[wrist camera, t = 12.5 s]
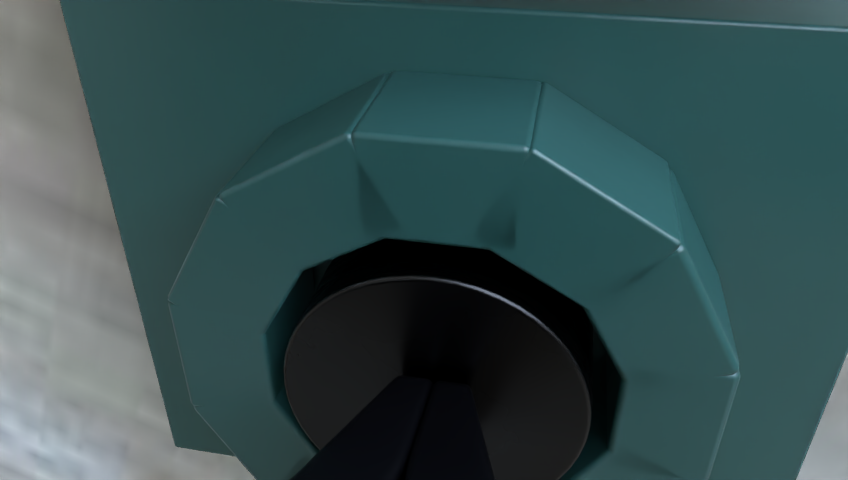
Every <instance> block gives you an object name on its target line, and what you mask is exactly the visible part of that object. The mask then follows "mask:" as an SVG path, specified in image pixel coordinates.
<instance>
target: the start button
mask: <svg viewBox="0 0 848 480" xmlns="http://www.w3.org/2000/svg"><path fill="white" fill-rule="evenodd" d="M402 375H404V376H411V377H418V378H425V379H429V380H431V381H432V383H433V385H434V384H435V383H436V382H437V381H447V382H454V383H461V384H466V385H468V386H469V387H470V388H471V390H472V393H473V397H474V401H475V405H476V409H477V413H478V416H479V420H480V424H481V428H482V432H483V436H484V439H485V443H486V447H487V451H488V455H489V459H490V462H491V466H492V470H493V474H494V478H495V480H558V479H560V478H561V477H562V476H563V475H564V474H565V473H566V472H567V471H568V470H569V469H570V468H571V467H572V465H573V464H574V462H575V461H576V460H577V458H578V457H579V455H580V454H581V452H582V450H583V448H584V446H585V444H586V442H587V439H588V435H589V432H590V428H591V421H592V394H593V325H592V324H591V322H590V320H589V318H588V316H587V314H586V313H585V311H584V309H583V307H582V306H580V305H579V304H577V303H575V302H574V301H572V300H570V299H569V298H567V297H566V296H564V295H562V294H561V293H559V292H557V291H556V290H554V289H552V288H551V287H549V286H548V285H546V284H544V283H543V282H541V281H539V280H538V279H536V278H534V277H533V276H531V275H530V274H528V273H526V272H525V271H523V270H521V269H520V268H518V267H516V266H515V265H513V264H511V263H510V262H508V261H507V260H505V259H503V258H502V257H500V256H498V255H497V254H495V253H493V252H492V251H490V250H486V249H477V248H467V247H458V246H449V245H440V244H431V243H422V242H412V241H403V240H394V239H385V238H384V239H382V240H379V241H377V242H374V243H372V244H369V245H367V246H364V247H362V248H359V249H357V250H354V251H352V252H349V253H347V254H344V255H342V256H339V257H337V258H334V259H332V261H331V262H330V264H329V266H328V268H327V270H326V272H325V274H324V275H323V277H322V279H321V281H320V283H319V285H318V286H317V288H316V290H315V292H314V294H313V296H312V298H311V299H310V301H309V303H308V305H307V307H306V309H305V310H304V312H303V314H302V316H301V318H300V320H299V322H298V323H297V325H296V327H295V329H294V331H293V333H292V335H291V337H290V339H289V342H288V345H287V348H286V352H285V359H284V384H285V388H286V393H287V398H288V401H289V403H290V406H291V408H292V411H293V413H294V415H295V417H296V419H297V421H298V422H299V424H300V426H301V428H302V429H303V430H304V432H305V433H306V435H307V436H308V437H309V439H310V440H311V441H312V442H313V443H314V444H315V445H316V447H317V448H318V449H319V450H321V449H322V448H323V447H324V446H325V445H326V444H327V443H328V442H329V441H330V440H331V439H332V438H333V437H335V436H336V435H337V434H338V433H339V432H340V431H341V430H342V429H343V428H344V427H345V426H346V425H347V424H348V423H349V422H350V421H351V420H352V419H353V418H354V417H355V416H356V415H357V414H358V413H359V412H360V411H361V410H362V409H363V408H365V407H366V406H367V405H368V404H369V403H370V402H371V401H372V400H373V399H374V398H375V397H376V396H377V395H378V394H379V393H380V392H381V391H382V390H383V389H384V388H385V387H386V386H387V385H388V384H389V383H390V382H391V381H392V380H393V379H395V378H396V377H398V376H402Z"/></svg>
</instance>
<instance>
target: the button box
mask: <svg viewBox="0 0 848 480" xmlns="http://www.w3.org/2000/svg"><path fill="white" fill-rule="evenodd" d="M60 4H61V8H62V12H63V16H64V19H65V23H66V27H67V31H68V35H69V39H70V43H71V46H72V50H73V54H74V58H75V62H76V66H77V70H78V73H79V77H80V81H81V85H82V89H83V93H84V97H85V100H86V104H87V108H88V112H89V116H90V120H91V123H92V127H93V131H94V135H95V139H96V143H97V147H98V150H99V154H100V158H101V162H102V166H103V170H104V174H105V177H106V181H107V185H108V189H109V193H110V197H111V201H112V204H113V208H114V212H115V216H116V220H117V224H118V227H119V231H120V235H121V239H122V243H123V247H124V251H125V254H126V258H127V262H128V266H129V270H130V274H131V278H132V281H133V285H134V289H135V293H136V297H137V301H138V305H139V308H140V312H141V316H142V320H143V324H144V328H145V332H146V335H147V339H148V343H149V347H150V351H151V355H152V358H153V362H154V366H155V370H156V374H157V378H158V382H159V385H160V389H161V393H162V397H163V401H164V405H165V409H166V412H167V416H168V420H169V424H170V428H171V432H172V436H173V439H174V443H175V446H177V447H181V448H187V449H193V450H199V451H205V452H211V453H217V454H223V455H229V456H236V457H237V458H238V459H239V461H240V462H241V463H242V464H243V465H244V466H245V467H246V468H247V470H248V471H249V472H250V473H251V474H252V475H253V476H254V478H255V479H256V480H290V479H291V478H292V477H293V476H294V475H295V474H296V473H297V472H298V471H299V470H300V469H301V468H302V467H304V466H305V465H306V464H307V463H308V462H309V461H310V460H311V459H312V458H313V457H314V456H315V455H316V454H317V453H318V452H319V451H320V450H319V449H318V448H317V447H316V445H315V444H314V443H313V442H312V441H311V440H310V439H309V437H308V436H307V435H306V433H305V432H304V430H303V429H302V428H301V426H300V424H299V422H298V421H297V419H296V417H295V415H294V413H293V411H292V408H291V406H290V403H289V401H288V398H287V393H286V388H285V384H284V359H285V352H286V348H287V345H288V342H289V339H290V337H291V335H292V333H293V331H294V329H295V327H296V325H297V323H298V322H299V320H300V318H301V316H302V314H303V312H304V310H305V309H306V307H307V305H308V303H309V301H310V299H311V298H312V296H313V294H314V292H315V290H316V288H317V286H318V285H319V283H320V281H321V279H322V277H323V275H324V274H325V272H326V270H327V268H328V266H329V264H330V262H331V261H332V259H334V258H337V257H339V256H342V255H344V254H347V253H349V252H352V251H354V250H357V249H359V248H362V247H364V246H367V245H369V244H372V243H374V242H377V241H379V240H382V239H384V238H385V239H394V240H403V241H412V242H422V243H431V244H440V245H449V246H458V247H467V248H477V249H486V250H490V251H492V252H493V253H495V254H497V255H498V256H500V257H502V258H503V259H505V260H507V261H508V262H510V263H511V264H513V265H515V266H516V267H518V268H520V269H521V270H523V271H525V272H526V273H528V274H530V275H531V276H533V277H534V278H536V279H538V280H539V281H541V282H543V283H544V284H546V285H548V286H549V287H551V288H552V289H554V290H556V291H557V292H559V293H561V294H562V295H564V296H566V297H567V298H569V299H570V300H572V301H574V302H575V303H577V304H579V305H580V306H582V307H583V309H584V311H585V313H586V314H587V316H588V318H589V320H590V322H591V324H592V325H593V394H592V421H591V428H590V432H589V435H588V439H587V442H586V444H585V446H584V448H583V450H582V452H581V454H580V455H579V457H578V458H577V460H576V461H575V462H574V464H573V465H572V467H571V468H570V469H569V470H568V471H567V472H566V473H565V474H564V475H563V476H562V477H561V478H560V479H558V480H796V478H797V476H798V473H799V471H800V468H801V466H802V464H803V461H804V459H805V456H806V454H807V451H808V449H809V446H810V444H811V441H812V439H813V436H814V434H815V432H816V429H817V427H818V424H819V422H820V419H821V417H822V414H823V412H824V409H825V407H826V404H827V402H828V399H829V397H830V395H831V392H832V390H833V387H834V385H835V382H836V380H837V377H838V375H839V372H840V370H841V367H842V365H843V362H844V360H845V358H846V355H847V353H848V0H60Z"/></svg>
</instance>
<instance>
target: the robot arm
mask: <svg viewBox="0 0 848 480" xmlns="http://www.w3.org/2000/svg"><path fill="white" fill-rule="evenodd" d="M290 480H495V478H494V474H493V470H492V466H491V462H490V459H489V455H488V451H487V447H486V443H485V439H484V436H483V432H482V428H481V424H480V420H479V416H478V413H477V409H476V405H475V401H474V397H473V393H472V390H471V388H470V387H469V386H468V385H466V384H461V383H454V382H447V381H437V382H436V383H435V384H434V385H433V383H432V381H431V380H429V379H425V378H418V377H411V376H404V375H402V376H398V377H396V378H395V379H393V380H392V381H391V382H390V383H389V384H388V385H387V386H386V387H385V388H384V389H383V390H382V391H381V392H380V393H379V394H378V395H377V396H376V397H375V398H374V399H373V400H372V401H371V402H370V403H369V404H368V405H367V406H366V407H365V408H363V409H362V410H361V411H360V412H359V413H358V414H357V415H356V416H355V417H354V418H353V419H352V420H351V421H350V422H349V423H348V424H347V425H346V426H345V427H344V428H343V429H342V430H341V431H340V432H339V433H338V434H337V435H336V436H335V437H333V438H332V439H331V440H330V441H329V442H328V443H327V444H326V445H325V446H324V447H323V448H322V449H321V450H320V451H319V452H318V453H317V454H316V455H315V456H314V457H313V458H312V459H311V460H310V461H309V462H308V463H307V464H306V465H305V466H304V467H302V468H301V469H300V470H299V471H298V472H297V473H296V474H295V475H294V476H293V477H292V478H291V479H290Z"/></svg>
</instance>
